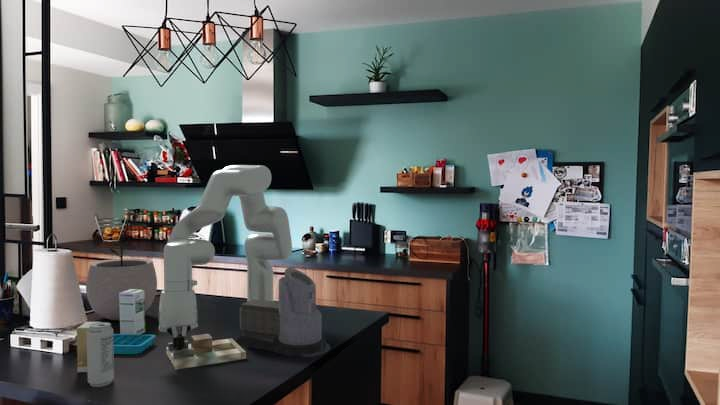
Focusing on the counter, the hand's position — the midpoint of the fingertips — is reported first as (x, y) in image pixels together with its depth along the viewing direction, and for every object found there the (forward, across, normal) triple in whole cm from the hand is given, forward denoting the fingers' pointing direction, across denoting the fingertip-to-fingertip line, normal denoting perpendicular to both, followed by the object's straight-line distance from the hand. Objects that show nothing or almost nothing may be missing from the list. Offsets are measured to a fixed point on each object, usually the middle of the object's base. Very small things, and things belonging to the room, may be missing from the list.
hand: (178, 349), depth 156 cm
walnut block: (+1, -6, 0) cm, 7 cm away
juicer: (+3, -32, +1) cm, 32 cm away
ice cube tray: (+4, +14, -20) cm, 25 cm away
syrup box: (+3, +8, -34) cm, 35 cm away
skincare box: (+3, +23, -4) cm, 23 cm away
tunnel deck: (+3, -8, 0) cm, 8 cm away
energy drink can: (+3, +21, +9) cm, 23 cm away
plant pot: (+3, +9, -57) cm, 58 cm away
